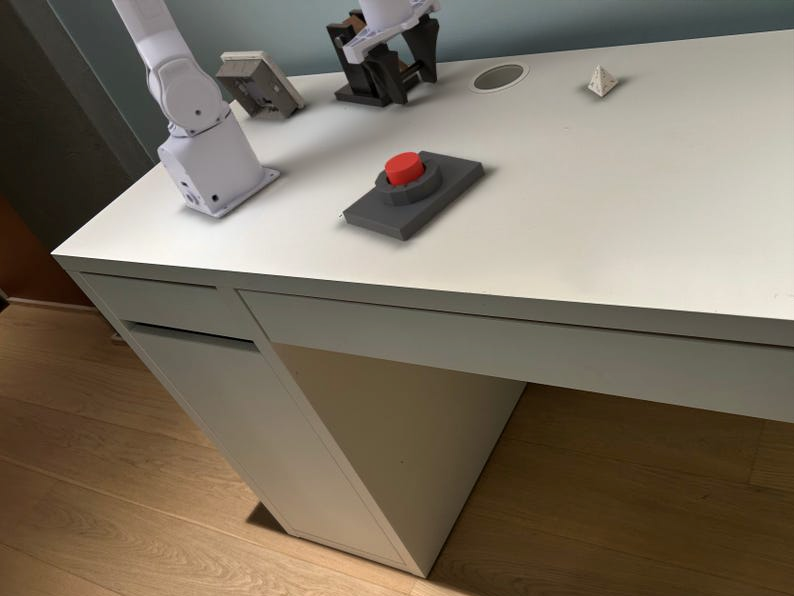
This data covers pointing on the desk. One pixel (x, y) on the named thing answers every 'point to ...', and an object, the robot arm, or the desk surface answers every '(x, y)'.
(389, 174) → the button
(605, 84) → the tetrahedral die
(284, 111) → the electrical switch
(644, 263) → the desk surface
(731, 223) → the desk surface
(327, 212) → the desk surface
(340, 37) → the bracket
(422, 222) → the button box
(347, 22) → the lever
